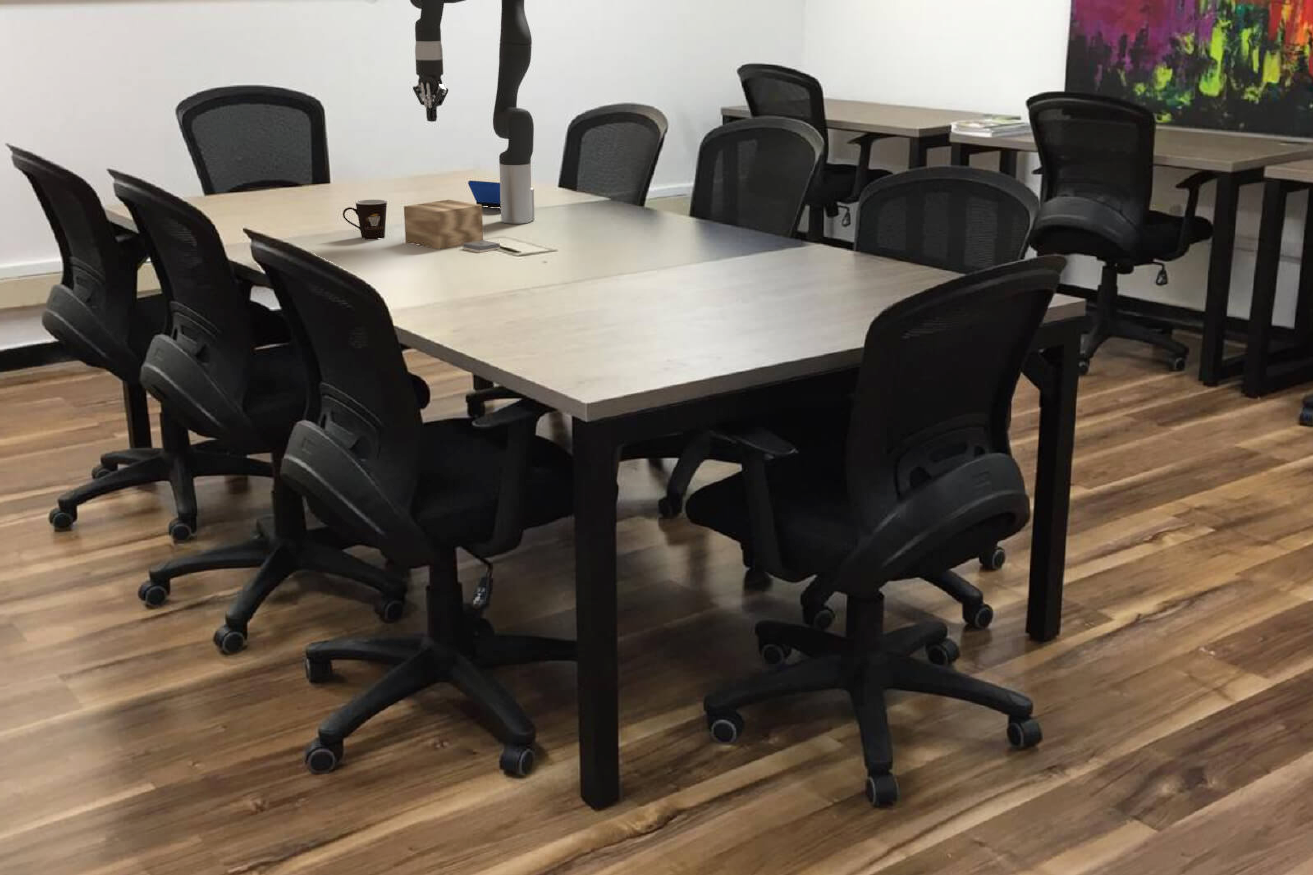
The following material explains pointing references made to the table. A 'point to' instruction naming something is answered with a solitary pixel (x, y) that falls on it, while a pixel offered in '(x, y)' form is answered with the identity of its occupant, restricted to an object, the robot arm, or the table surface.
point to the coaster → (481, 246)
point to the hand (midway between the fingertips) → (431, 121)
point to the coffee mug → (370, 218)
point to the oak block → (443, 223)
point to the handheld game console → (486, 193)
